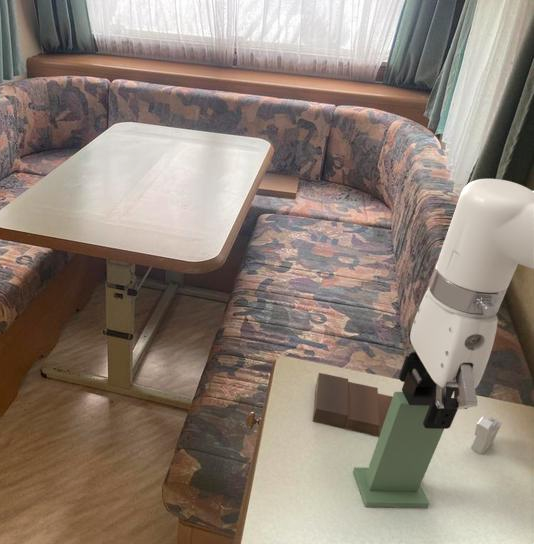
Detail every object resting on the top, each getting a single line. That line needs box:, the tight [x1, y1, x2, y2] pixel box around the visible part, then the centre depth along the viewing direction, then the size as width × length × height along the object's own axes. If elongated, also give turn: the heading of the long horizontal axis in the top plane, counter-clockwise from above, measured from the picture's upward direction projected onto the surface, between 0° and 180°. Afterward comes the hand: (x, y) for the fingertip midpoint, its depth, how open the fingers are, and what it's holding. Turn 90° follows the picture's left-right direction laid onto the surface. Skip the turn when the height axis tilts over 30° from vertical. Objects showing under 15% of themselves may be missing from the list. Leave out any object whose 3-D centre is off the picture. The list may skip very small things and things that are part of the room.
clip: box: [401, 369, 454, 406], centre depth 73 cm, size 3×5×4 cm, turn 91°
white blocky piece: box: [470, 416, 503, 455], centre depth 88 cm, size 7×2×8 cm, turn 130°
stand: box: [352, 391, 445, 509], centre depth 79 cm, size 6×9×18 cm, turn 91°
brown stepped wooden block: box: [312, 372, 393, 438], centre depth 95 cm, size 15×9×3 cm, turn 75°
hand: (422, 401), depth 74 cm, fingers open, 7 cm apart
